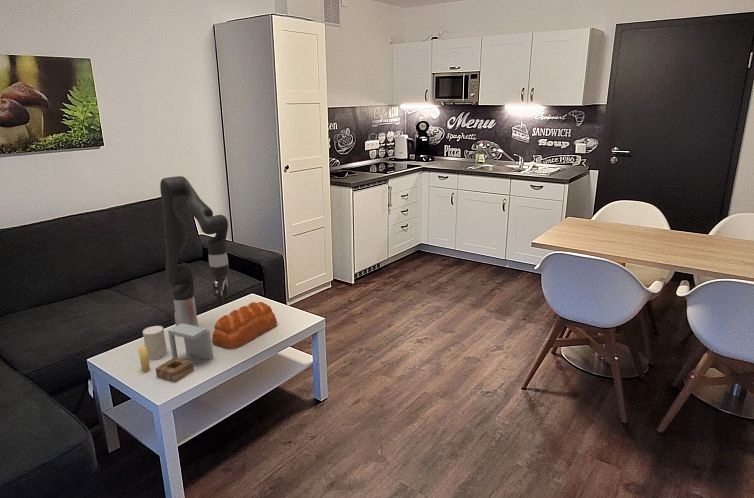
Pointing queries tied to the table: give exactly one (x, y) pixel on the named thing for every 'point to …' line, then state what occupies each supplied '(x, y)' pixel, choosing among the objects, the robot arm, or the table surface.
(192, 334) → the grey arch-shaped block
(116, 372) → the table surface
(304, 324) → the table surface
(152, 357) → the cup
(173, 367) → the socket block
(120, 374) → the table surface
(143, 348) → the peg
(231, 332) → the bread
